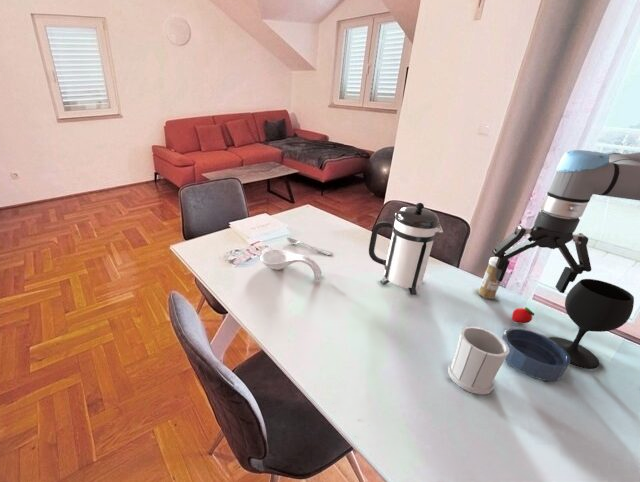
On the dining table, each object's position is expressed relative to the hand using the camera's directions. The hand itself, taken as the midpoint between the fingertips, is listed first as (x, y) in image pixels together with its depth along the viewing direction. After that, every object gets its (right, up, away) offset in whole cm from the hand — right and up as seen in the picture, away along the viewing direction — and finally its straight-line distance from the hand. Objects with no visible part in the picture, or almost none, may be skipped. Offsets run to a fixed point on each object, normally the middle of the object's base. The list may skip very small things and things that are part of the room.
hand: (528, 284), depth 86 cm
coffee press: (-24, -4, +24) cm, 34 cm away
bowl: (-7, -18, -8) cm, 20 cm away
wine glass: (+6, -17, -5) cm, 19 cm away
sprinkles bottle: (+2, -7, +17) cm, 19 cm away
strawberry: (+1, -12, +5) cm, 13 cm away
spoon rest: (-61, -1, +31) cm, 69 cm away
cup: (-25, -20, -12) cm, 34 cm away
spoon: (-51, +5, +47) cm, 69 cm away
